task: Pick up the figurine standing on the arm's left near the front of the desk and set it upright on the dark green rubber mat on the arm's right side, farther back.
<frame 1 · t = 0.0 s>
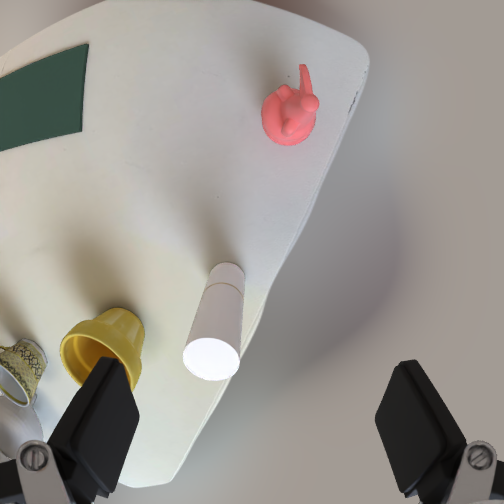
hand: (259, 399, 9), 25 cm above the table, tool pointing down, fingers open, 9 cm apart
tube: (227, 278, 35), on the table
figurine: (283, 123, 30), on the table
table lamp: (31, 403, 47), on the table
flower pot: (123, 326, 38), on the table
ceramic cup: (29, 347, 41), on the table
mat: (29, 102, 27), on the table
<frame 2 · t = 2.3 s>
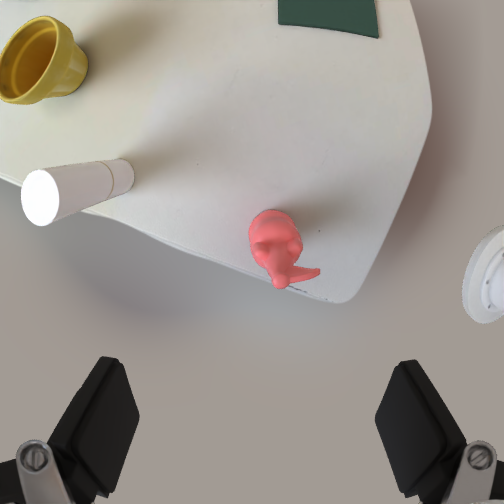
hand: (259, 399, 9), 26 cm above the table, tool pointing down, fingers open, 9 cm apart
tube: (119, 176, 32), on the table
figurine: (271, 225, 34), on the table
flower pot: (69, 72, 27), on the table
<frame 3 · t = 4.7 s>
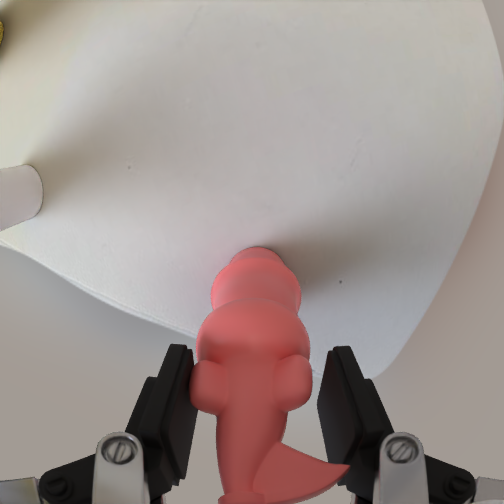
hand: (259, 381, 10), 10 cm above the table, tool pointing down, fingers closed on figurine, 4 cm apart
tube: (26, 191, 17), on the table
figurine: (258, 273, 19), on the table, touching gripper
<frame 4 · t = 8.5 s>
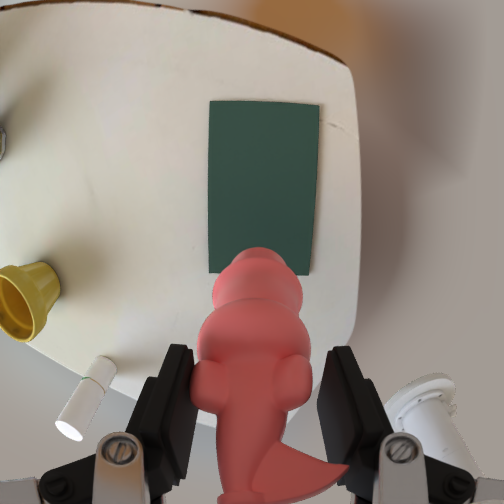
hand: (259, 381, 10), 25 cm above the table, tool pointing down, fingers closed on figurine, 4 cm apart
tube: (106, 365, 42), on the table
figurine: (259, 273, 19), point 15 cm above the table, touching gripper
flower pot: (45, 280, 37), on the table
mat: (262, 189, 33), on the table
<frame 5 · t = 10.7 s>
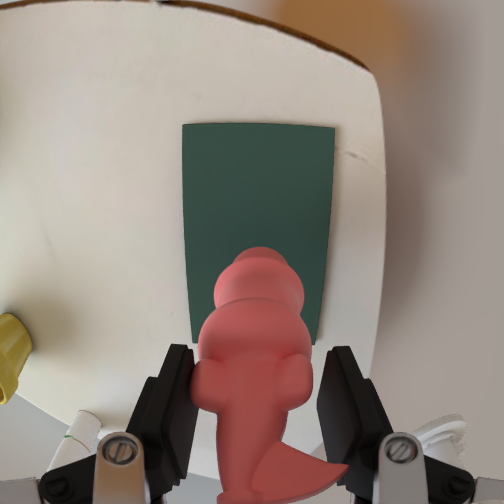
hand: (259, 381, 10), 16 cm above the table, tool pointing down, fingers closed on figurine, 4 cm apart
tube: (90, 418, 34), on the table
figurine: (261, 273, 19), point 6 cm above the table, touching gripper
flower pot: (16, 332, 29), on the table
mat: (256, 244, 25), on the table
when the fingers open (11 cm above the table, at t = 12.4 s): figurine stays where it is, resting on mat.
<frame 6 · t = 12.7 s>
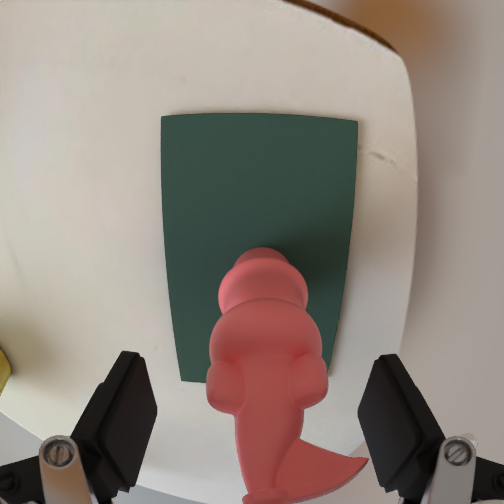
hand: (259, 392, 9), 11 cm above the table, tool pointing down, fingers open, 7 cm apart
figurine: (263, 273, 19), resting on mat
mat: (256, 269, 20), on the table
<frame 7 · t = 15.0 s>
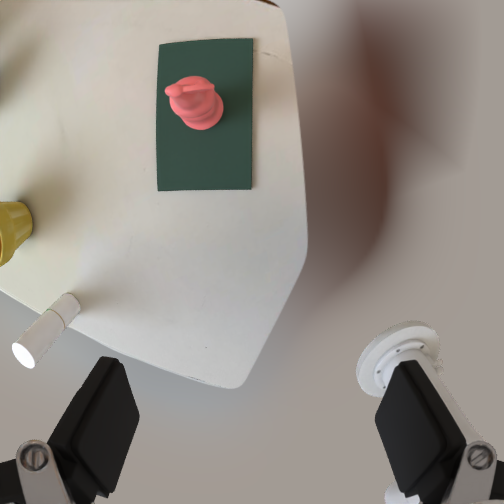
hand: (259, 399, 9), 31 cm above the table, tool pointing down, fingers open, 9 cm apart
tube: (70, 304, 43), on the table
figurine: (206, 111, 33), resting on mat
flower pot: (20, 219, 38), on the table
mat: (203, 111, 33), on the table
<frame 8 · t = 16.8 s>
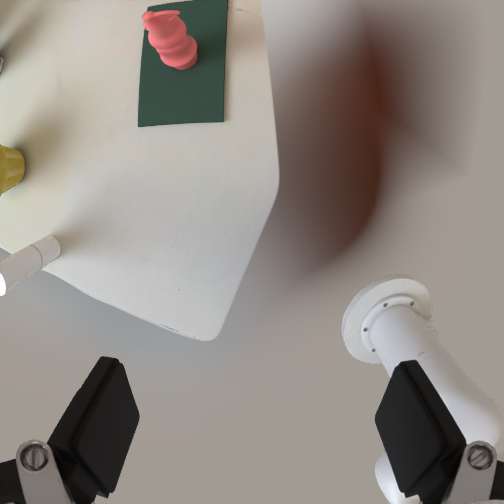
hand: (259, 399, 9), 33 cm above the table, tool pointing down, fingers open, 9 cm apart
tube: (52, 246, 43), on the table
figurine: (184, 57, 33), resting on mat
flower pot: (15, 166, 38), on the table
mat: (182, 57, 33), on the table
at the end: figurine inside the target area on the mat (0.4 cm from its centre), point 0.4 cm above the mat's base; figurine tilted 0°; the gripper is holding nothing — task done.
